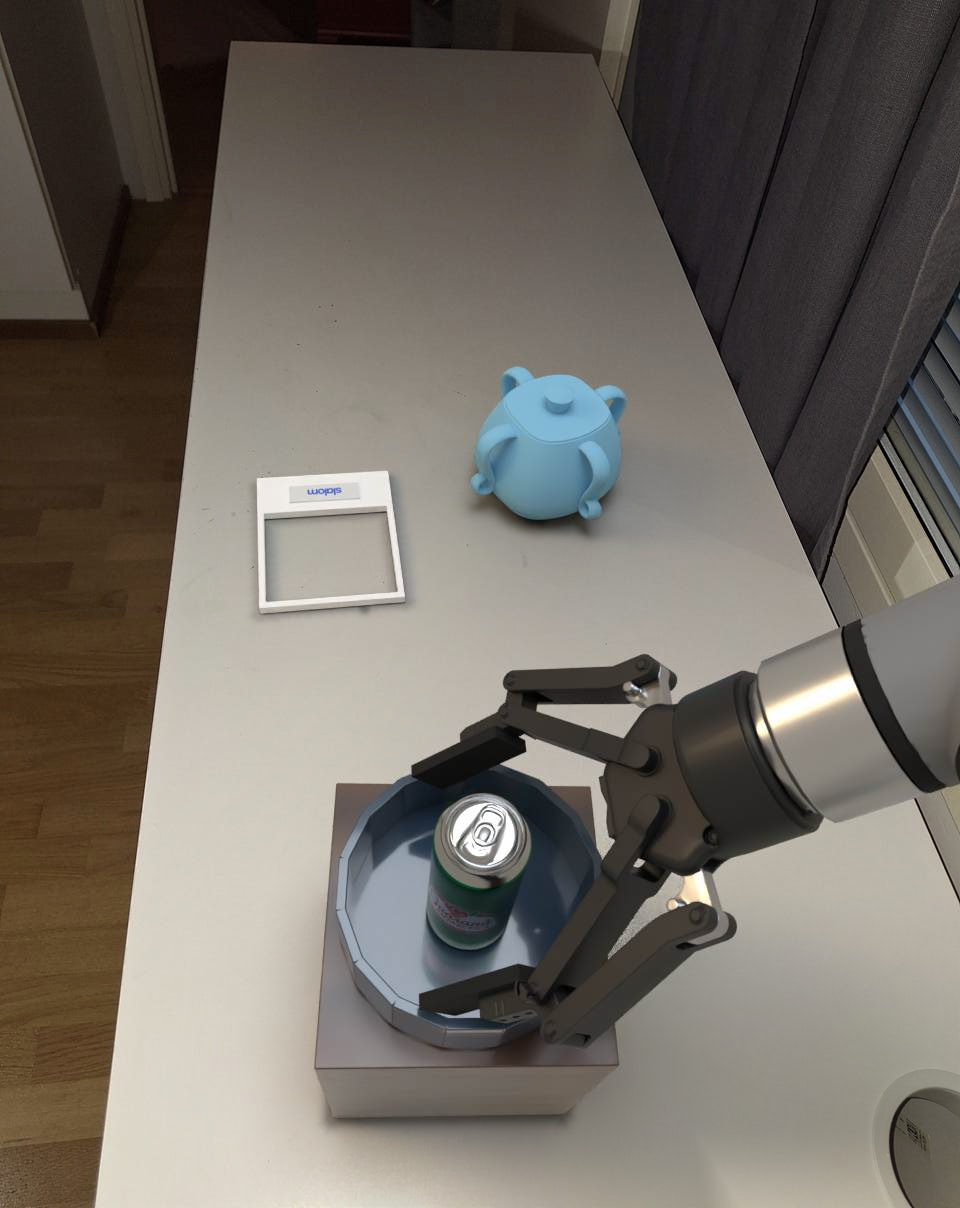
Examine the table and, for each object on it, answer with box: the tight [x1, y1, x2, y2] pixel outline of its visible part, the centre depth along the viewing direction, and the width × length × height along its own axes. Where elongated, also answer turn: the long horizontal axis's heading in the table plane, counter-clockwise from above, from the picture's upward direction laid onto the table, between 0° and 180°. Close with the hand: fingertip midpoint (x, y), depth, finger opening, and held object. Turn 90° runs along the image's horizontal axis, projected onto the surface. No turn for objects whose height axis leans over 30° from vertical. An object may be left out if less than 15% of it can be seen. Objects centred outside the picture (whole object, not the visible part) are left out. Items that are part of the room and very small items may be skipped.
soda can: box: [427, 793, 532, 950], centre depth 50 cm, size 5×5×12 cm
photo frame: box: [256, 470, 406, 614], centre depth 97 cm, size 15×1×18 cm
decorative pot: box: [469, 366, 627, 521], centre depth 100 cm, size 16×16×14 cm
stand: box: [313, 782, 620, 1119], centre depth 63 cm, size 17×17×20 cm
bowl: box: [335, 763, 603, 1049], centre depth 53 cm, size 15×15×5 cm
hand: (431, 883), depth 50 cm, fingers open, 12 cm apart
